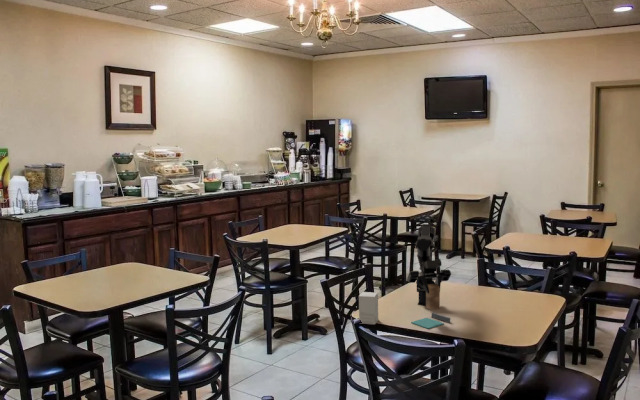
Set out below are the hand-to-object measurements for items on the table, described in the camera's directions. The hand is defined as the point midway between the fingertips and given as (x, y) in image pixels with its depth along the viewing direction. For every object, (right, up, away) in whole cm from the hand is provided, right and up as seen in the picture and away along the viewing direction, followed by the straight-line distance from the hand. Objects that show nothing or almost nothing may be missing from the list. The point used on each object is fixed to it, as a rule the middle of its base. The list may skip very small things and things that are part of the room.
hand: (433, 292), depth 235 cm
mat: (-3, -14, +1) cm, 14 cm away
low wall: (+4, -13, +6) cm, 15 cm away
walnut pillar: (0, -7, +2) cm, 7 cm away
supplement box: (-28, -14, +5) cm, 32 cm away
